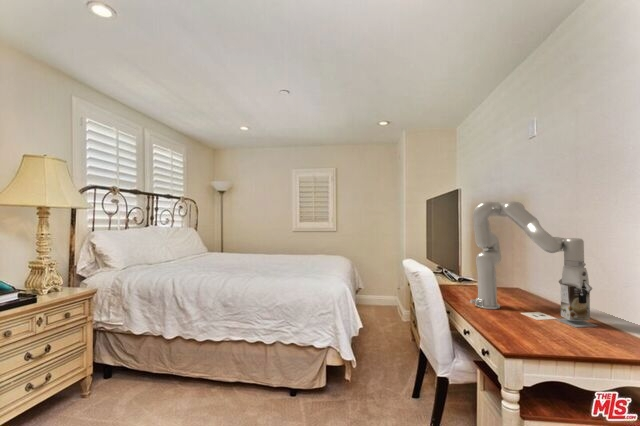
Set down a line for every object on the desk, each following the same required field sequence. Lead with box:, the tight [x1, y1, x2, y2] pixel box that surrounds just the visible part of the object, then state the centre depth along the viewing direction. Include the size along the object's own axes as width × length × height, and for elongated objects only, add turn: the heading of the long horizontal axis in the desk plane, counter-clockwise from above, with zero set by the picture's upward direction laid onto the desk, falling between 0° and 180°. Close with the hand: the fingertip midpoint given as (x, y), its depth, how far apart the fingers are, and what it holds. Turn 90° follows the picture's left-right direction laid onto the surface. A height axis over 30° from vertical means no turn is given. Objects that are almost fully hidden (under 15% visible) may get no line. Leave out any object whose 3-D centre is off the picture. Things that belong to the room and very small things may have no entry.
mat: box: [555, 318, 599, 329], centre depth 147 cm, size 11×11×1 cm
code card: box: [520, 311, 558, 321], centre depth 158 cm, size 11×11×1 cm
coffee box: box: [560, 284, 591, 322], centre depth 148 cm, size 9×6×16 cm
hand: (574, 300), depth 148 cm, fingers closed on coffee box, 7 cm apart
